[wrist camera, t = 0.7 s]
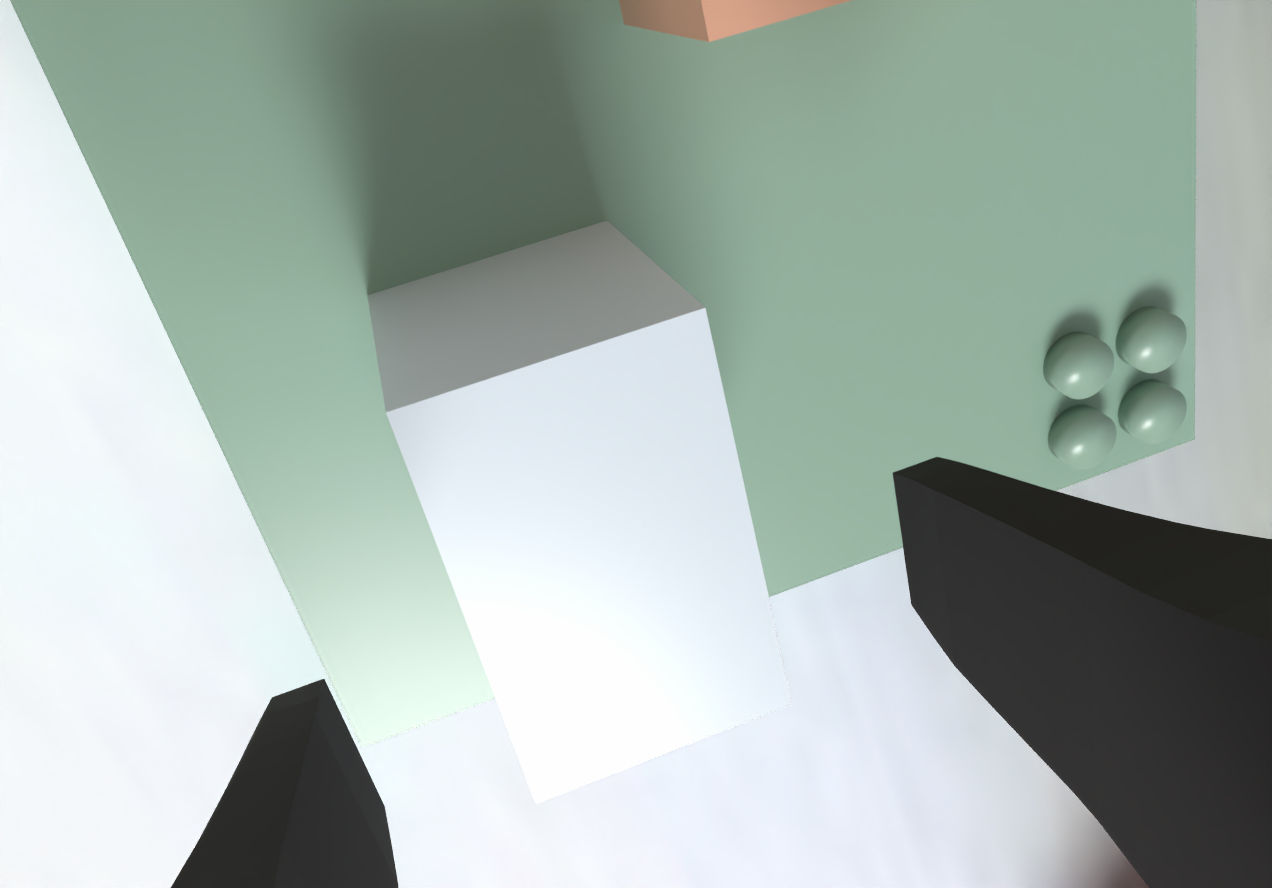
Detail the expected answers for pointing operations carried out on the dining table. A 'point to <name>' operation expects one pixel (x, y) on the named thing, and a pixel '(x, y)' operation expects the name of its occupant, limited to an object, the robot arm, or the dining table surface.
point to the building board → (650, 250)
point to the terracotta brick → (714, 15)
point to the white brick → (583, 500)
